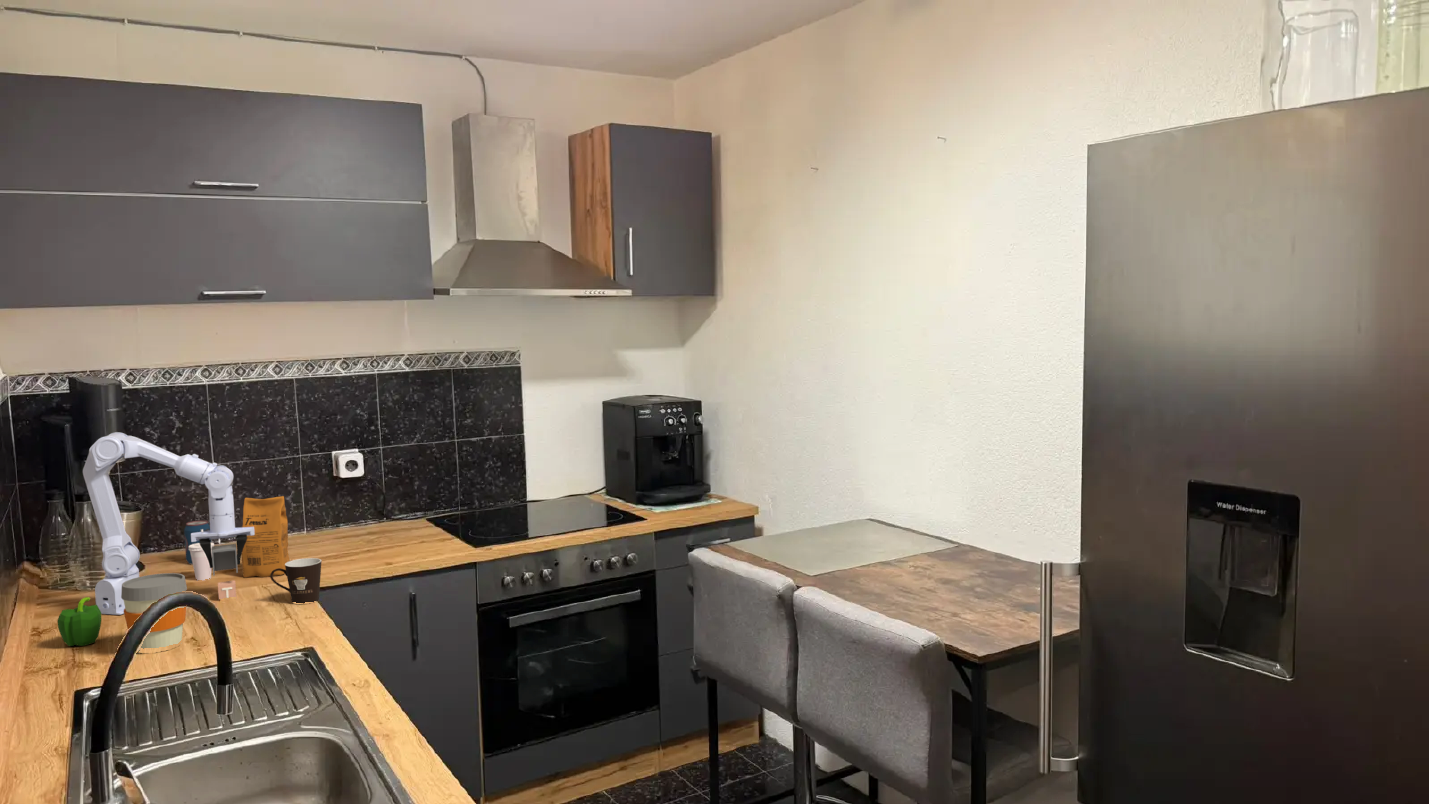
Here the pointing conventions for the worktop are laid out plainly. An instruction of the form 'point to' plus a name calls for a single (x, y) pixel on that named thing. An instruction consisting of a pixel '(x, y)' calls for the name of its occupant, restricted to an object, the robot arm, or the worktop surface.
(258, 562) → the coffee package
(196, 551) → the smoothie
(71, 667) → the worktop surface
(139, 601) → the reusable coffee cup
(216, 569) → the grey hollow cube
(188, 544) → the soda can
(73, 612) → the bell pepper
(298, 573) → the coffee mug
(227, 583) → the letter cube
